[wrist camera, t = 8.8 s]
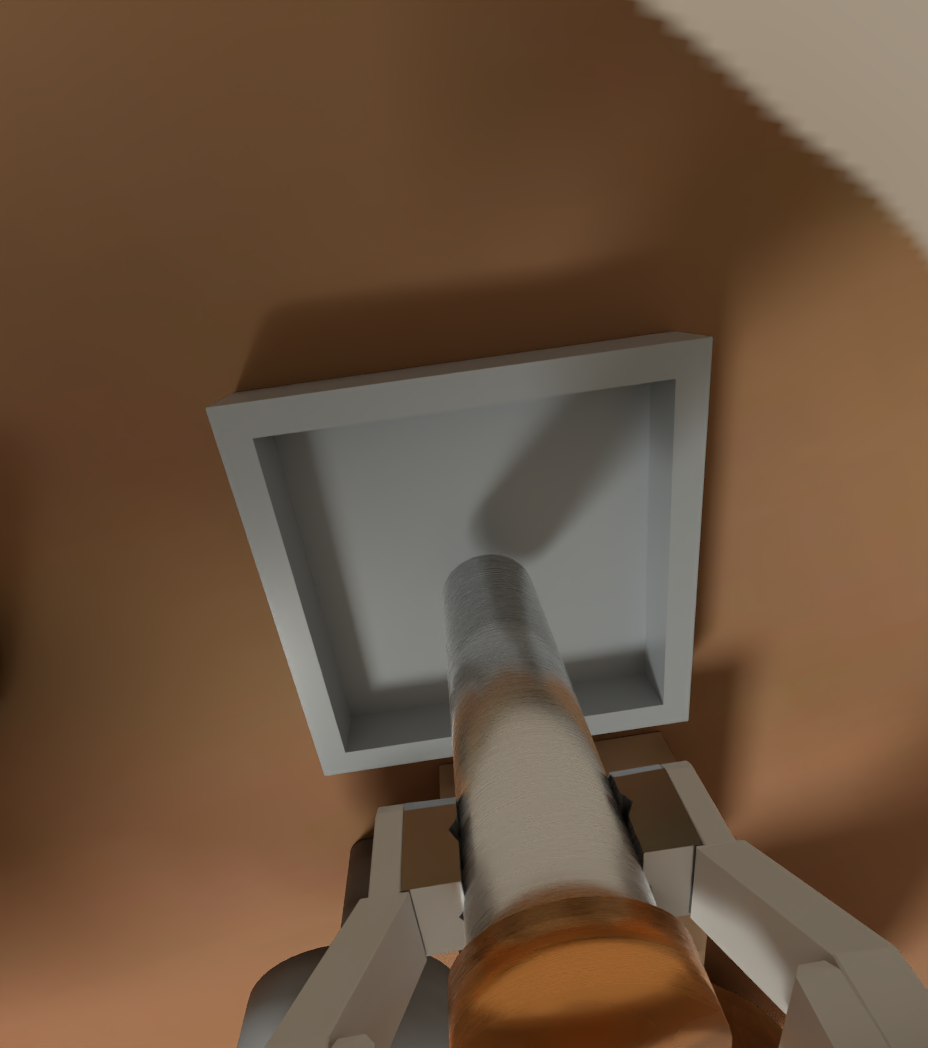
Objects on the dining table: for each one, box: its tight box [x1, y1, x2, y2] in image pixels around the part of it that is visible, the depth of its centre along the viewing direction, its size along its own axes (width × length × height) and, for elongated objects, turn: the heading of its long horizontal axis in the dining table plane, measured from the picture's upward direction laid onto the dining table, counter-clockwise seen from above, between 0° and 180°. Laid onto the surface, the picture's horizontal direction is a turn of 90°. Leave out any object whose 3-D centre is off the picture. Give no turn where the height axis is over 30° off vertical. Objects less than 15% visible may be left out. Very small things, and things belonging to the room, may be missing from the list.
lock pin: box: [442, 554, 732, 1048], centre depth 12 cm, size 4×4×12 cm
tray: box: [205, 331, 713, 776], centre depth 18 cm, size 14×14×2 cm
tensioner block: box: [237, 732, 707, 1048], centre depth 22 cm, size 18×10×8 cm, turn 97°
